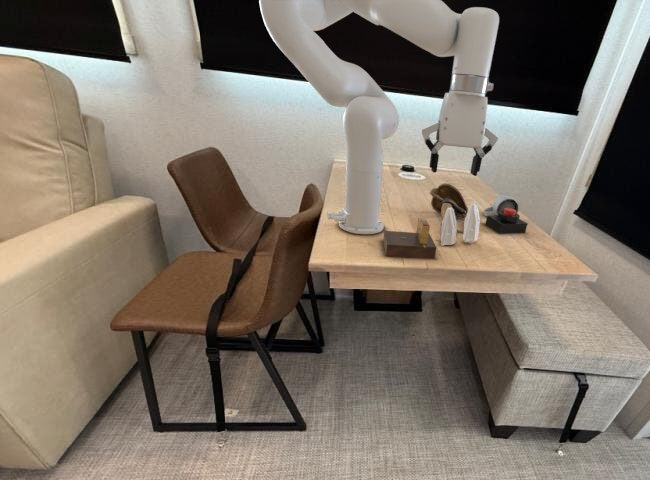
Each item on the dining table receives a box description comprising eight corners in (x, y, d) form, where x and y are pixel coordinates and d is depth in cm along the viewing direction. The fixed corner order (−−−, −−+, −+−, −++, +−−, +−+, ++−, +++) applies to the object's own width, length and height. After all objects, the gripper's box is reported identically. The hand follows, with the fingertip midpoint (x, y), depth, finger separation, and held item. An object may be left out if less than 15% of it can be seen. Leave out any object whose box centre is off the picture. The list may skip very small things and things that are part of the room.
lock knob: (415, 234, 84) (418, 216, 81) (422, 235, 84) (425, 217, 82) (419, 243, 79) (422, 224, 76) (426, 244, 79) (430, 225, 77)
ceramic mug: (509, 214, 120) (515, 193, 116) (515, 222, 113) (522, 199, 109) (480, 212, 120) (485, 190, 116) (485, 219, 113) (490, 196, 109)
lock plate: (386, 257, 78) (387, 244, 76) (382, 240, 86) (383, 229, 84) (443, 260, 80) (445, 248, 78) (434, 243, 88) (436, 232, 87)
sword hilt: (476, 198, 110) (438, 175, 107) (486, 220, 89) (439, 192, 86) (459, 223, 115) (422, 202, 112) (465, 250, 94) (420, 224, 91)
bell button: (507, 217, 101) (509, 211, 100) (500, 213, 104) (502, 207, 103) (516, 216, 103) (518, 211, 102) (509, 213, 105) (511, 207, 105)
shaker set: (474, 239, 94) (483, 201, 88) (481, 245, 91) (491, 205, 85) (435, 240, 91) (443, 200, 85) (441, 246, 87) (449, 204, 81)
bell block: (499, 234, 101) (503, 218, 98) (484, 224, 107) (488, 209, 104) (524, 233, 105) (529, 217, 102) (509, 224, 111) (513, 209, 108)
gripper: (501, 91, 73) (483, 172, 81) (424, 83, 70) (415, 167, 79) (514, 91, 66) (493, 179, 75) (430, 82, 64) (419, 173, 73)
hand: (453, 173), depth 77 cm, fingers open, 9 cm apart
